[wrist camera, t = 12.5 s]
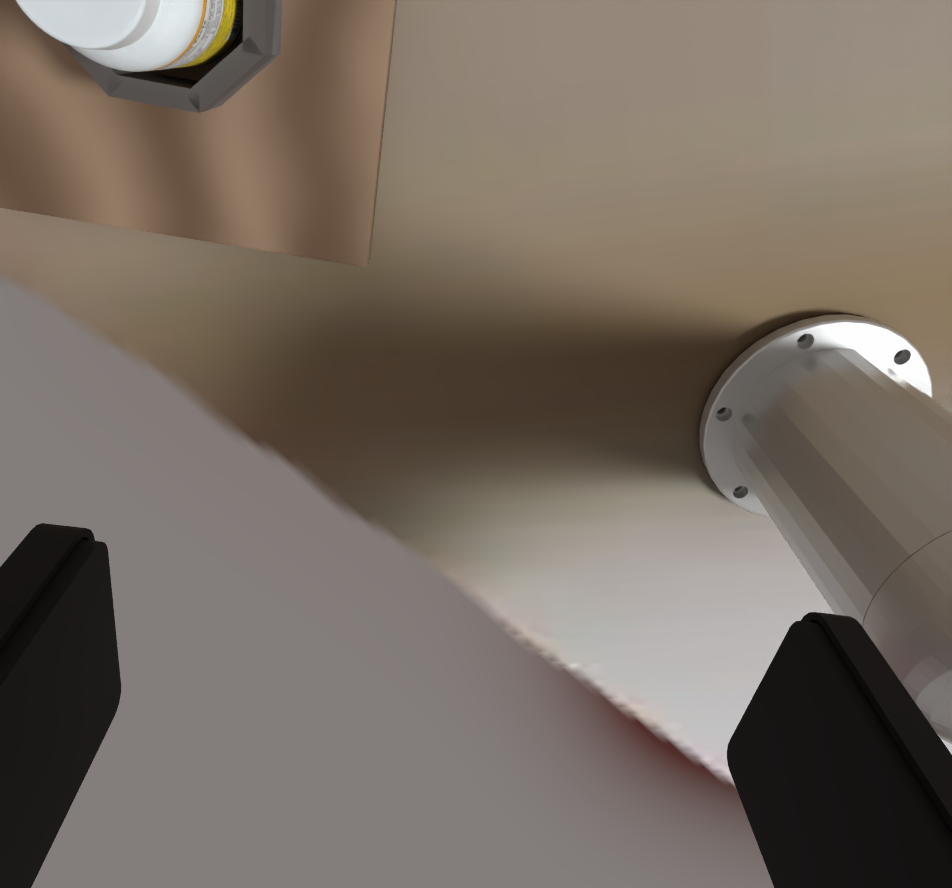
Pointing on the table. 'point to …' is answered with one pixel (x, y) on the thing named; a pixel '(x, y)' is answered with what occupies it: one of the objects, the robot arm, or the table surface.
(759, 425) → the robot arm
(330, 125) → the holder
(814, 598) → the table surface
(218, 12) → the supplement bottle
